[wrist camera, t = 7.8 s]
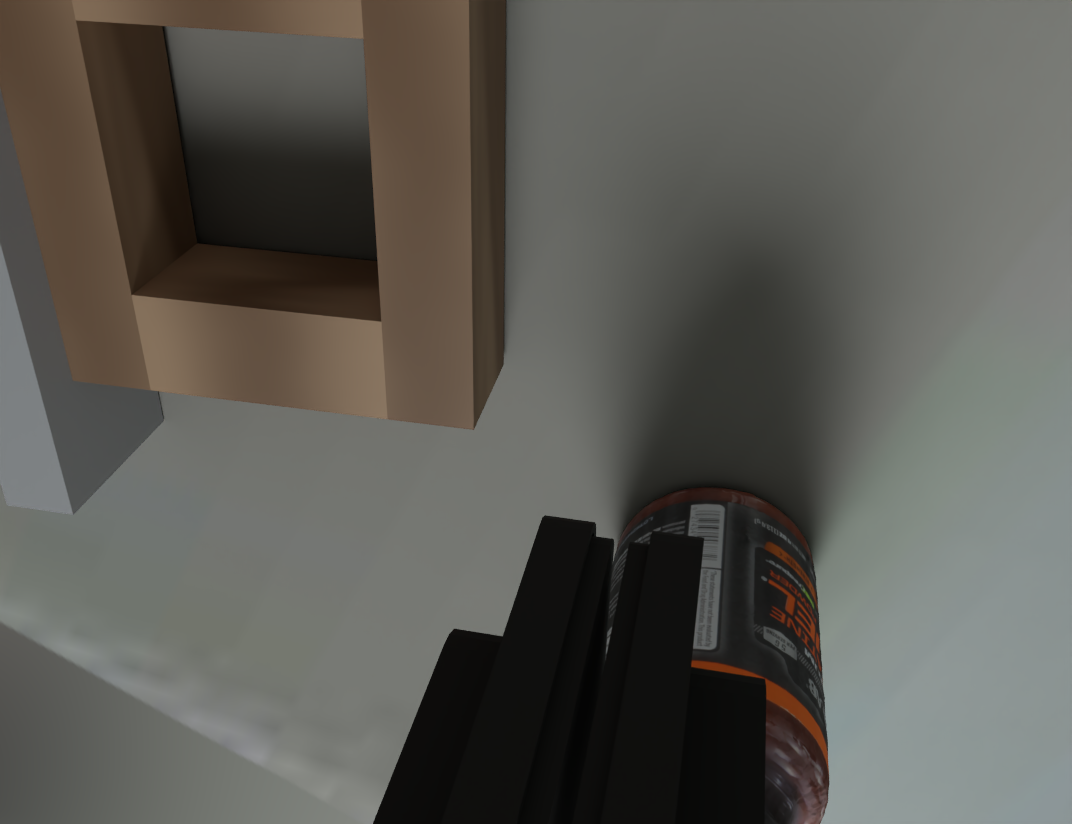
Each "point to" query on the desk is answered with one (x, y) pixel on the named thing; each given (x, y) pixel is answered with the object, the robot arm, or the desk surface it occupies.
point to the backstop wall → (51, 377)
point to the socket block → (261, 275)
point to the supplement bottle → (754, 628)
